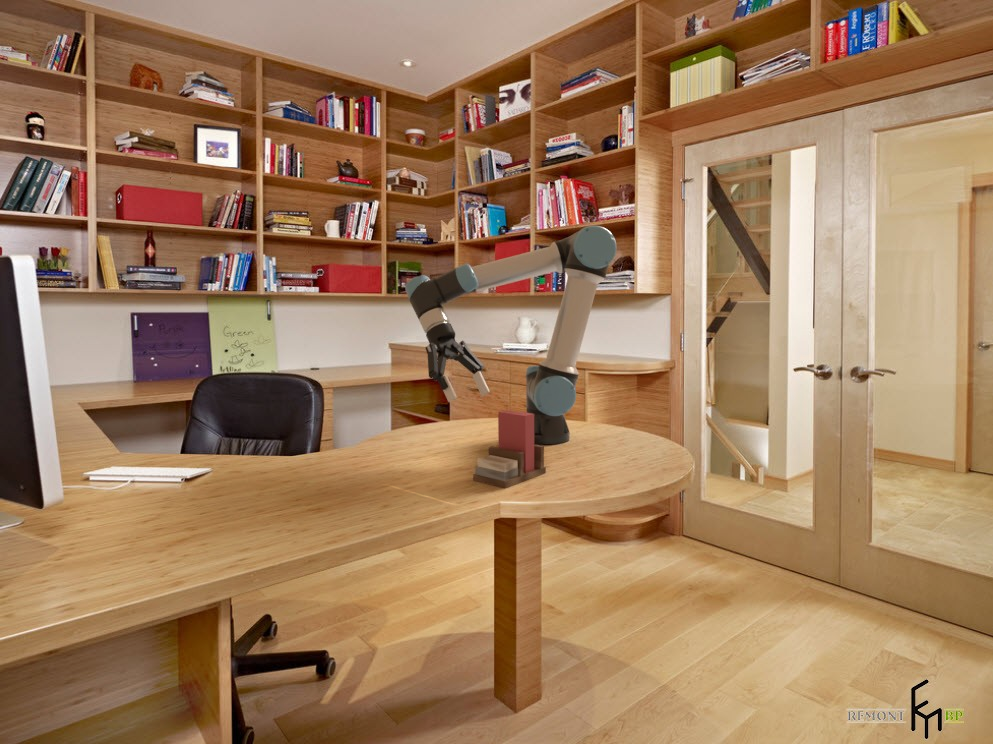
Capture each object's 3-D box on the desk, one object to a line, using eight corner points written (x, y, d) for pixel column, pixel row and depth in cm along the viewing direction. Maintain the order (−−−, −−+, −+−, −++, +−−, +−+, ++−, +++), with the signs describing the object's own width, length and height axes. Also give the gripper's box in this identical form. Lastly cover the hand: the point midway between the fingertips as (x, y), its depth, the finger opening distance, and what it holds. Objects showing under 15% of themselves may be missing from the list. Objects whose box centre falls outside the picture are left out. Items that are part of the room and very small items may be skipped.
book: (507, 464, 158) (506, 410, 156) (534, 469, 153) (534, 413, 151) (498, 466, 155) (498, 412, 154) (525, 472, 150) (525, 416, 148)
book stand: (514, 466, 162) (514, 439, 161) (545, 472, 155) (545, 445, 154) (473, 480, 149) (472, 451, 149) (505, 488, 143) (504, 458, 142)
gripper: (459, 334, 182) (489, 397, 177) (396, 337, 162) (428, 409, 157) (475, 320, 177) (507, 385, 172) (413, 322, 158) (447, 395, 153)
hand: (470, 396), depth 165 cm, fingers open, 13 cm apart
